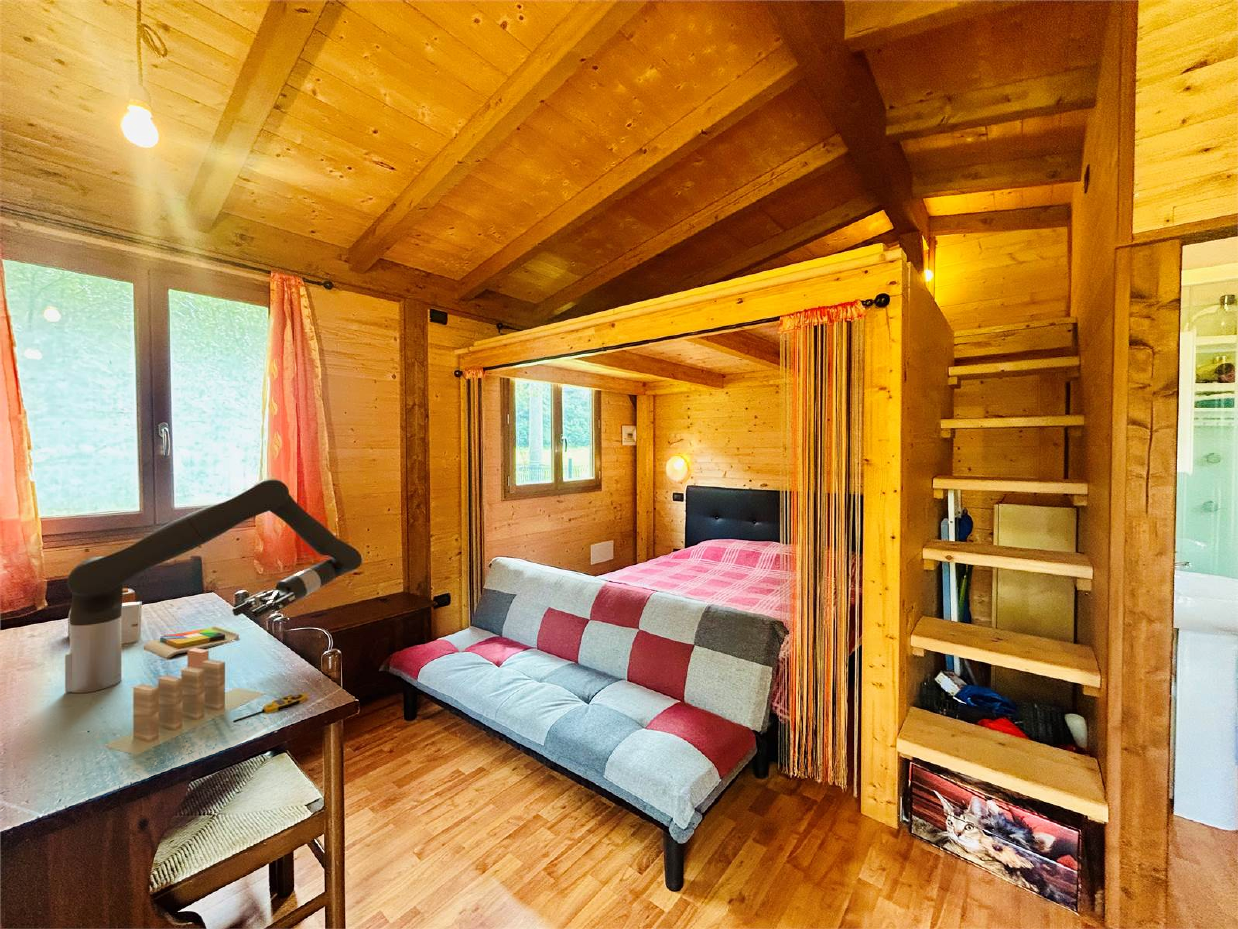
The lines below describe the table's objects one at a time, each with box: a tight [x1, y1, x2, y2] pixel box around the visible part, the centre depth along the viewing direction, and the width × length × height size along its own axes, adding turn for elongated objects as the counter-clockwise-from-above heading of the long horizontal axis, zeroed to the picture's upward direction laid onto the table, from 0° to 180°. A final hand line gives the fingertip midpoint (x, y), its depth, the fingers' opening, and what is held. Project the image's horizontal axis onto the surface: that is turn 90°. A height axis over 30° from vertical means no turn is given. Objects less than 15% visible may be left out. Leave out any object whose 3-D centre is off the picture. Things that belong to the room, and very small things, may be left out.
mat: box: [103, 687, 266, 756], centre depth 114 cm, size 27×10×1 cm, turn 164°
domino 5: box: [203, 658, 226, 711], centre depth 118 cm, size 2×5×11 cm, turn 74°
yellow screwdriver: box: [232, 692, 309, 723], centre depth 118 cm, size 5×2×15 cm
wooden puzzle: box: [142, 625, 239, 660], centre depth 157 cm, size 18×19×4 cm
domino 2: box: [157, 674, 183, 731], centre depth 109 cm, size 2×5×11 cm, turn 74°
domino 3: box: [187, 648, 210, 669], centre depth 125 cm, size 2×5×11 cm, turn 74°
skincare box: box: [121, 601, 143, 645], centre depth 158 cm, size 6×4×12 cm
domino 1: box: [132, 683, 159, 743], centre depth 105 cm, size 2×5×11 cm, turn 74°
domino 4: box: [180, 666, 205, 721], centre depth 113 cm, size 2×5×11 cm, turn 74°
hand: (243, 614), depth 135 cm, fingers open, 8 cm apart
